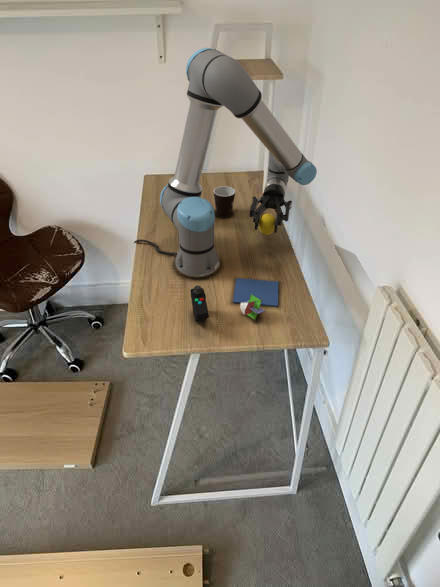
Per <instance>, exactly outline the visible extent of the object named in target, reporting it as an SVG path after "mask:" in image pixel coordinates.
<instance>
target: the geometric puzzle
mask: <svg viewBox="0 0 440 587" xmlns="http://www.w3.org/2000/svg"><path fill="white" fill-rule="evenodd" d="M261 302H262V299H258V298H257V297H255V296H253V295H252V294H251V295H250V298H249V301H246V302H242V303H240V304H239V305H240V311H241V312H242V314H243V316H247V317H248V318H250V319H253V320H254V321H256V320H257V318H258V317H257V316H258V315H259V314H261V313H262V314H263V313H264V312H265V313H266V309H264V308H262V307H261ZM263 307H265V306H264V305H263ZM262 314H261V315H262ZM261 315H260V316H259V317H261Z"/></svg>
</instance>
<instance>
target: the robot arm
mask: <svg viewBox="0 0 440 587" xmlns="http://www.w3.org/2000/svg"><path fill="white" fill-rule="evenodd" d="M185 74H186V78H187V81H188V87H187V91H186V97H187V98H188V100H189V106H188V111H187V115H186V120H185V125H184V130H183V135H182V139H181V142H180V143H181V144H180V148H179V153H178V158H177V163H176V167H175V171H174V176H171V177H170V178H169V179H168V182H167V184H166V185H165V186H164V187H163V188H162V190H161V192H160V195H159V202H160V203H159V204H160V206H161V208H162V211H163V213H164V214H165V215H166V217H168V219H169V220H170V222H171V223H172V224H173V225H174V227H175V228H176V229H177V232H178V244H179V246H178V250H177V252H175V251H174V252H172V251H171V252H170V251H164V250H161V249H159V248H158V245H157V244H156V243H154V242H152V241H150V240H147V239H142V238H141V239H136V240H134V241H133V244H136V243H141V242H143V243H147V244H149V245H151V246H154V249H155V251H156V252H157V253H160V254H165V255H172V256H175V259H174V266H175V270H176V271H177V273H179V275H181V276H183V277H185V278H188V279H192V280H193V279H196V280H199V279H206V278H209V277H212V276H213V275H215V274H216V273H217V272H218V271H219V269H220V264H221V263H220V262H221V261H220V257H219V255H218V252H217V248H216V247H215V222H216V213H215V209H214V206H213V204H212V203H211V202H210V201H209V200H208V199H206V198H201V197H202V192H203V187H202V185H201V183H200V182H201V178H202V174H203V171H204V170H203V169H204V166H205V161H206V158H207V154H208V150H209V147H210V146H209V145H210V142H211V138H212V133H213V130H214V126H215V122H216V119H217V114H218V110H219V109H221V108H223V107H224V108H226V109H227V110H228V111H229V112H230V113H231V114H232V115H233V117H235V118H236V119H241V120H242V121H243V122H244V123H245V125H246V126H247V127H248V128H249V129H250V130H251V131H252V133H253V134H254V135H255V136H256V137H257V139H258V140H259V141H260V142H261V143H262V145H263V146H264V147H265V148H266V150H267V151H268V167H267V175H266V176H267V178H266V182H265V185H264V189H263V193H262V195H261V197H259V198H258V197H257V196H252V201H251V205H250V208H249V210H248V212H249V213H248V214H249V215H248V216H249V218H252V223H254V231H257V230H258V229H259V221H260V218H261V216H262V215H263V213H264V212H266V211H267V210H269V209H271V210H274V212H275V214H276V218H275V220H276V222H275V227H274V232H273V233H277V232H278V226H282V224H283V221H284V222H289V218H290V210H291V209H292V204H293V201H292V200H287V201H285V196H286V191H287V187H288V186H287V185H288V183H289V178H291V179H292V180H293V181H294V182H295V183H298V184H299V185H300V186H307V185H309V184H311V183H312V182H313V181H314V180H315V179H316V177H317V170H318V169H317V166H316V165H315V164H313V162H312V161H310V160H308V159H307V157H305V155H304V154H303V153H302V151H301V150H300V149H299V147H298V146H297V145H296V143H295V142H294V140H293V139H292V138H291V136H290V135H289V134H288V133H287V131H286V130H285V128H284V127H283V126H282V124H281V123H280V122H279V120H278V119H277V118H276V116H275V115H274V114H273V112H272V111H271V109H269V108H268V106H267V104H266V103H265V102H264V101H263V93H262V92H261V90H260V88H258V86H257V85H256V83H255V82H254V80H253V79H252V78H251V76H250V75H249V73H248V72H247V70H246V68H244V66H243V65H242V64H241V63H240V62H239V61H238V60H237V59H235V58H233V57H231V56H230V55H227V54H225V53H224V52H222V51H220V50H218V49H216V48H212V47H211V48H210V47H202V48H199V49H198V50H196V51H194V52H193V53H192V54H191V55H190V56H189V58H188V60H187V63H186V66H185ZM259 204H260V205H259ZM282 207H284V208H285V212H284V211H283V210H282Z"/></svg>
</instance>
